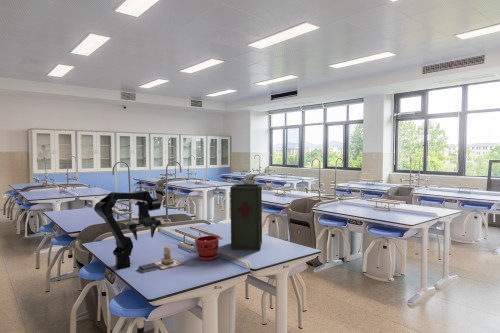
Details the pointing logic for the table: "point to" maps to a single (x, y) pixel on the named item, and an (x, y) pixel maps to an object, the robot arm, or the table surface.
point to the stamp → (167, 257)
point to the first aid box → (246, 216)
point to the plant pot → (207, 247)
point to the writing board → (162, 267)
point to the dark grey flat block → (147, 267)
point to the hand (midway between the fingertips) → (144, 238)
